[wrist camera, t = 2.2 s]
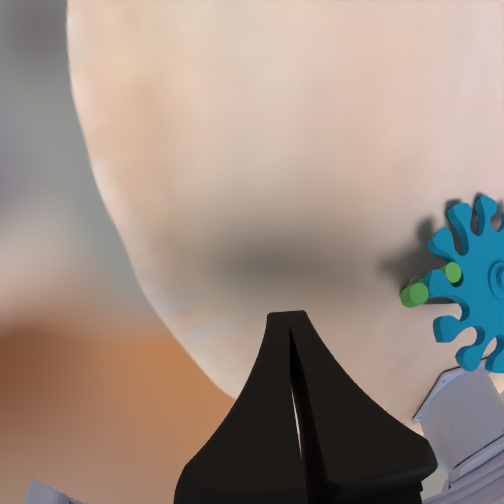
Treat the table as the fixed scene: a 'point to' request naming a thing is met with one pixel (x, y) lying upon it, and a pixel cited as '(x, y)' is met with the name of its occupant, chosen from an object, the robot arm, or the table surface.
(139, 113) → the table surface
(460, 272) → the gear
